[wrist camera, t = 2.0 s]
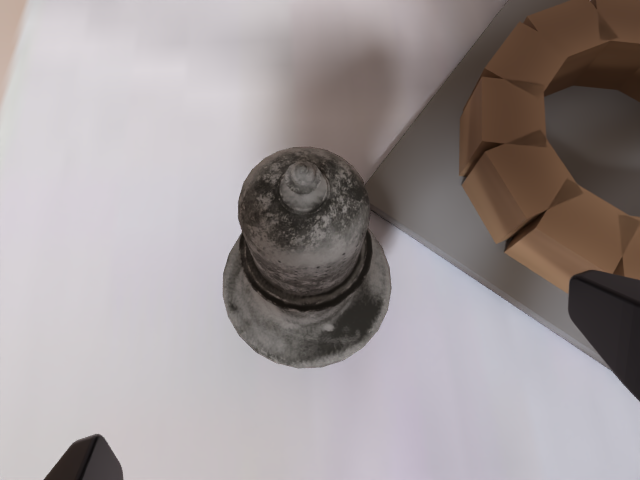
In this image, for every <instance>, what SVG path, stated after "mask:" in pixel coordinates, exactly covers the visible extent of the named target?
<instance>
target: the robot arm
mask: <svg viewBox="0 0 640 480" xmlns="http://www.w3.org/2000/svg"><path fill="white" fill-rule="evenodd" d="M568 313H569V316H570V318H571V320H572V322H573V323H574V324H575V326H576V327H577V328H578V329H579V331H580V332H581V333H582V334H583V336H584V337H585V338H586V339H587V341H588V342H589V343H590V344H591V345H592V347H593V348H594V349H595V350H596V352H597V353H598V354H599V355H600V357H601V358H602V359H603V360H604V362H605V363H606V364H607V365H608V366H609V368H610V369H611V370H612V371H613V373H614V374H615V375H616V376H617V377H618V379H619V380H620V381H621V382H622V383H623V384H624V385H625V387H626V388H627V389H628V390H629V391H630V392H631V393H632V394H633V395H634V396H635V397H636V398H637V399H638V400H639V401H640V280H638V279H633V278H629V277H624V276H620V275H616V274H611V273H607V272H602V271H598V270H587V271H584V272H581V273H578V274H575V275H573V276H572V277H571V278H570V280H569V293H568ZM44 480H123V471H122V467H121V465H120V463H119V461H118V459H117V458H116V456H115V454H114V453H113V451H112V450H111V448H110V446H109V445H108V443H107V442H106V440H105V439H104V437H103V436H101V435H100V434H95V435H92V436H89V437H86V438H83V439H80V440H77V441H75V442H74V443H73V444H72V445H71V446H70V447H69V448H68V450H67V451H66V452H65V453H64V455H63V456H62V457H61V458H60V460H59V461H58V462H57V464H56V465H55V466H54V467H53V469H52V470H51V471H50V472H49V474H48V475H47V476H46V477H45V479H44Z"/></svg>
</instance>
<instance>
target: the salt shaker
mask: <svg viewBox="0 0 640 480" xmlns="http://www.w3.org/2000/svg"><path fill="white" fill-rule="evenodd" d="M370 214H371V213H370V201H369V195H368V192H367V190H366V187H365V185H364V182H363V179H362V178H361V177H360V175H359V174H358V173H357V171H356V170H355V169H354V167H353V166H352V165H350V164H349V163H348V162H347V161H345V160H344V159H343V158H342V157H340V156H338V155H336V154H333V153H331V152H329V151H327V150H323V149H318V148H313V147H293V148H289V149H286V150H282V151H278V152H276V153H274V154H272V155H270V156H268V157H267V158H265V159H263V160H262V161H261V162H260V163H259V164H258V165H257V166H255V167H254V168H253V169H252V170H251V172H250V174H249V175H248V177H247V178H246V180H245V181H244V183H243V186H242V190H241V193H240V196H239V201H238V219H239V222H240V226H241V229H242V233H241V235H240V237H239V238H238V240H237V241H236V243H235V245H234V246H233V248H232V250H231V251H230V253H229V256H228V259H227V263H226V266H225V269H224V273H223V298H224V302H225V306H226V310H227V314H228V317H229V319H230V321H231V322H232V324H233V326H234V328H235V329H236V331H237V333H238V334H239V336H240V337H241V338H242V339H243V340H244V341H245V342H246V343H247V344H248V345H249V346H250V347H251V348H252V349H253V350H254V351H255V352H257V353H258V354H260V355H262V356H264V357H266V358H268V359H270V360H271V361H273V362H275V363H278V364H282V365H287V366H291V367H295V368H316V367H324V366H327V365H330V364H333V363H337V362H340V361H343V360H345V359H346V358H348V357H349V356H351V355H352V354H354V353H355V352H357V351H358V350H360V349H361V348H363V347H364V346H365V345H366V343H367V342H368V341H369V340H370V339H371V338H372V337H373V335H374V334H375V333H376V332H377V331H378V329H379V327H380V325H381V323H382V321H383V319H384V317H385V315H386V312H387V310H388V305H389V300H390V294H391V279H390V268H389V265H388V262H387V259H386V257H385V254H384V251H383V249H382V247H381V245H380V244H379V243H378V241H377V240H376V238H375V237H374V236H373V234H372V233H371V231H370V230H369V229H368V224H369V219H370Z"/></svg>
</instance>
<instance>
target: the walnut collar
mask: <svg viewBox="0 0 640 480" xmlns="http://www.w3.org/2000/svg"><path fill="white" fill-rule="evenodd" d="M365 187H366V190H367V192H368V195H369V201H370V209H371V210H372V211H374V212H375V213H377V214H378V215H380V216H381V217H383V218H384V219H386V220H387V221H389V222H390V223H392V224H393V225H395V226H396V227H398V228H399V229H400V230H402V231H403V232H405V233H406V234H408V235H409V236H411V237H412V238H414V239H415V240H417V241H418V242H420V243H421V244H423V245H424V246H426V247H427V248H429V249H430V250H432V251H433V252H435V253H436V254H438V255H439V256H441V257H442V258H444V259H445V260H447V261H448V262H450V263H451V264H453V265H454V266H456V267H457V268H459V269H460V270H462V271H463V272H465V273H466V274H468V275H469V276H471V277H472V278H474V279H475V280H477V281H478V282H480V283H481V284H483V285H484V286H486V287H487V288H489V289H490V290H492V291H493V292H495V293H496V294H498V295H499V296H501V297H502V298H504V299H505V300H507V301H508V302H510V303H511V304H513V305H514V306H516V307H517V308H519V309H520V310H522V311H523V312H525V313H526V314H528V315H529V316H531V317H532V318H534V319H535V320H537V321H538V322H540V323H541V324H542V325H544V326H545V327H547V328H548V329H550V330H551V331H553V332H554V333H556V334H557V335H559V336H560V337H562V338H563V339H565V340H566V341H568V342H569V343H571V344H572V345H574V346H575V347H577V348H578V349H580V350H581V351H583V352H584V353H586V354H587V355H589V356H590V357H592V358H593V359H595V360H596V361H598V362H599V363H601V364H602V365H604V366H605V367H607V368H608V369H610V368H609V366H608V365H607V364H606V363H605V362H604V360H603V359H602V358H601V357H600V355H599V354H598V353H597V352H596V350H595V349H594V348H593V347H592V345H591V344H590V343H589V342H588V341H587V339H586V338H585V337H584V336H583V334H582V333H581V332H580V331H579V329H578V328H577V327H576V326H575V324H574V323H573V322H572V320H571V318H570V316H569V313H568V293H569V280H570V278H571V277H572V276H573V275H575V274H578V273H581V272H584V271H587V270H598V271H602V272H607V273H611V274H616V275H620V276H624V277H629V278H633V279H638V280H640V0H591V1H590V0H508V1H507V3H506V4H505V5H504V6H503V8H502V9H501V10H500V12H499V13H498V14H497V16H496V17H495V18H494V19H493V21H492V22H491V23H490V25H489V26H488V27H487V28H486V30H485V31H484V32H483V34H482V35H481V36H480V37H479V39H478V40H477V41H476V43H475V44H474V45H473V46H472V48H471V49H470V50H469V52H468V53H467V54H466V55H465V57H464V58H463V59H462V61H461V62H460V63H459V65H458V66H457V67H456V68H455V70H454V71H453V72H452V74H451V75H450V76H449V77H448V79H447V80H446V81H445V83H444V84H443V85H442V86H441V88H440V89H439V90H438V92H437V93H436V94H435V95H434V97H433V98H432V99H431V101H430V102H429V103H428V104H427V106H426V107H425V108H424V110H423V111H422V112H421V114H420V115H419V116H418V117H417V119H416V120H415V121H414V123H413V124H412V125H411V126H410V128H409V129H408V130H407V132H406V133H405V134H404V135H403V137H402V138H401V139H400V141H399V142H398V143H397V144H396V146H395V147H394V148H393V150H392V151H391V152H390V153H389V155H388V156H387V157H386V159H385V160H384V161H383V163H382V164H381V165H380V166H379V168H378V169H377V170H376V172H375V173H374V174H373V175H372V177H371V178H370V179H369V181H368V182H367V183H366V184H365ZM610 370H611V369H610ZM611 371H612V370H611Z"/></svg>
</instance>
